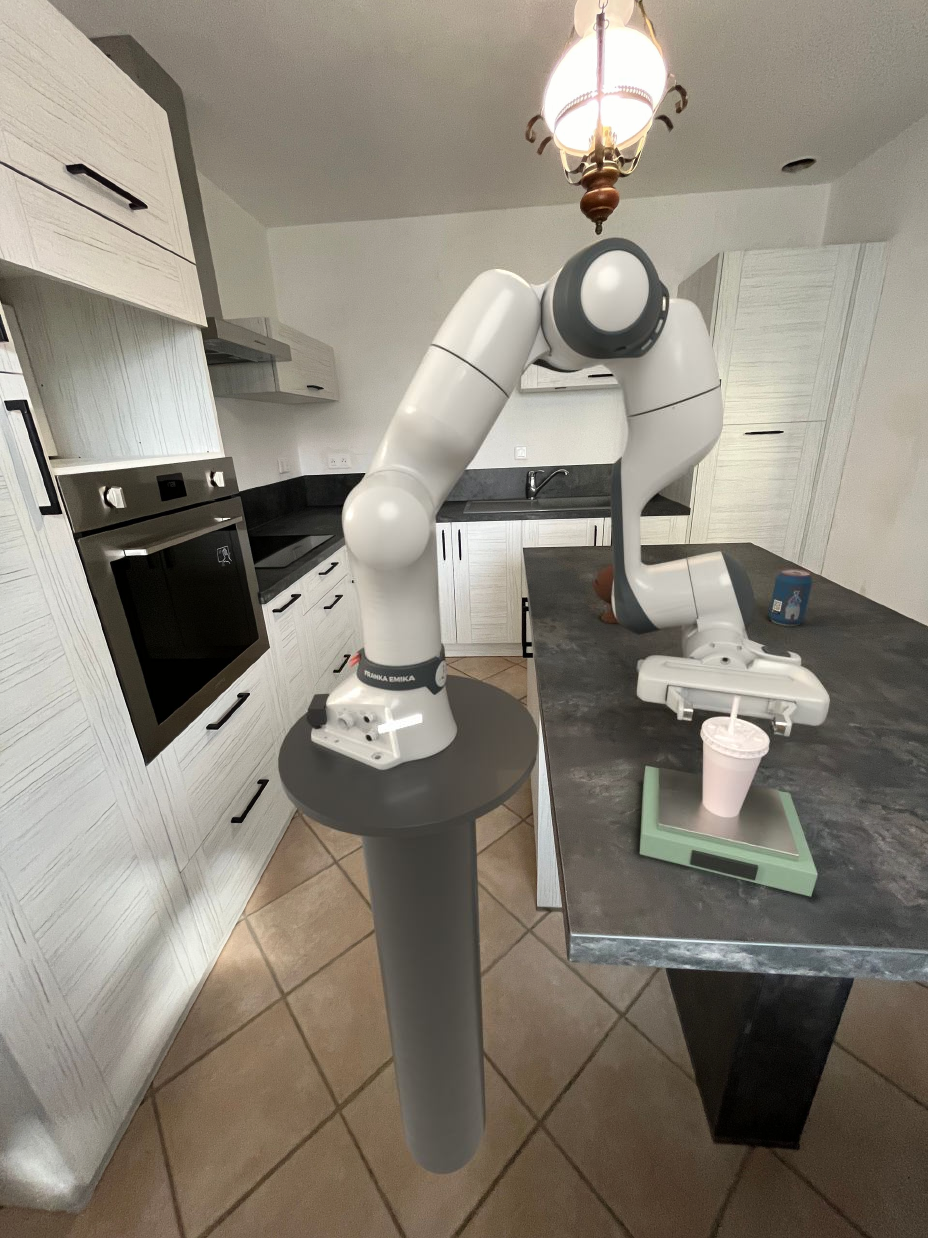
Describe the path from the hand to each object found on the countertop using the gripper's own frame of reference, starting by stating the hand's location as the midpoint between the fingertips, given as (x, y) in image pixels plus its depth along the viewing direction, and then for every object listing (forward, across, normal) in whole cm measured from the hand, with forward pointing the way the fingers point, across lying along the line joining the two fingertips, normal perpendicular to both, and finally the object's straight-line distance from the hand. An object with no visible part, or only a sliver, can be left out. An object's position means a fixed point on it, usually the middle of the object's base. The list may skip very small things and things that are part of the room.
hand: (732, 722), depth 53 cm
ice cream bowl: (-64, -17, +14) cm, 67 cm away
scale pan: (+2, 0, +10) cm, 11 cm away
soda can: (-73, +21, +14) cm, 77 cm away
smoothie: (+2, 0, +10) cm, 10 cm away
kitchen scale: (+2, 0, +13) cm, 14 cm away
